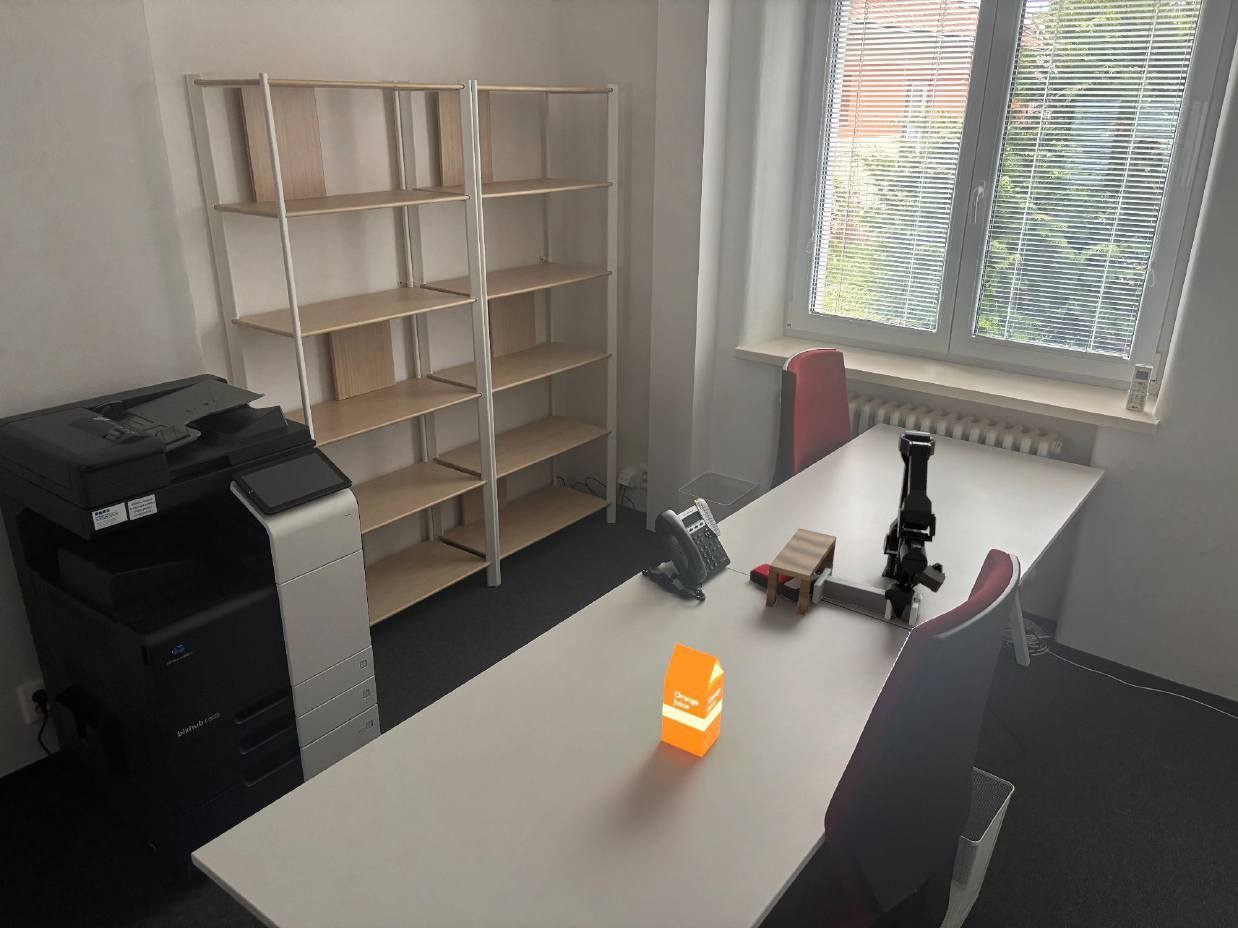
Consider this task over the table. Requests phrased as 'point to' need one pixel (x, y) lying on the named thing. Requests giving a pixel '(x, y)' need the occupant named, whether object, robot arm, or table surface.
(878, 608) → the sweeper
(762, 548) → the table surface
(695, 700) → the orange juice
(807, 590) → the wooden stool
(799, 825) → the table surface
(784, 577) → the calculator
